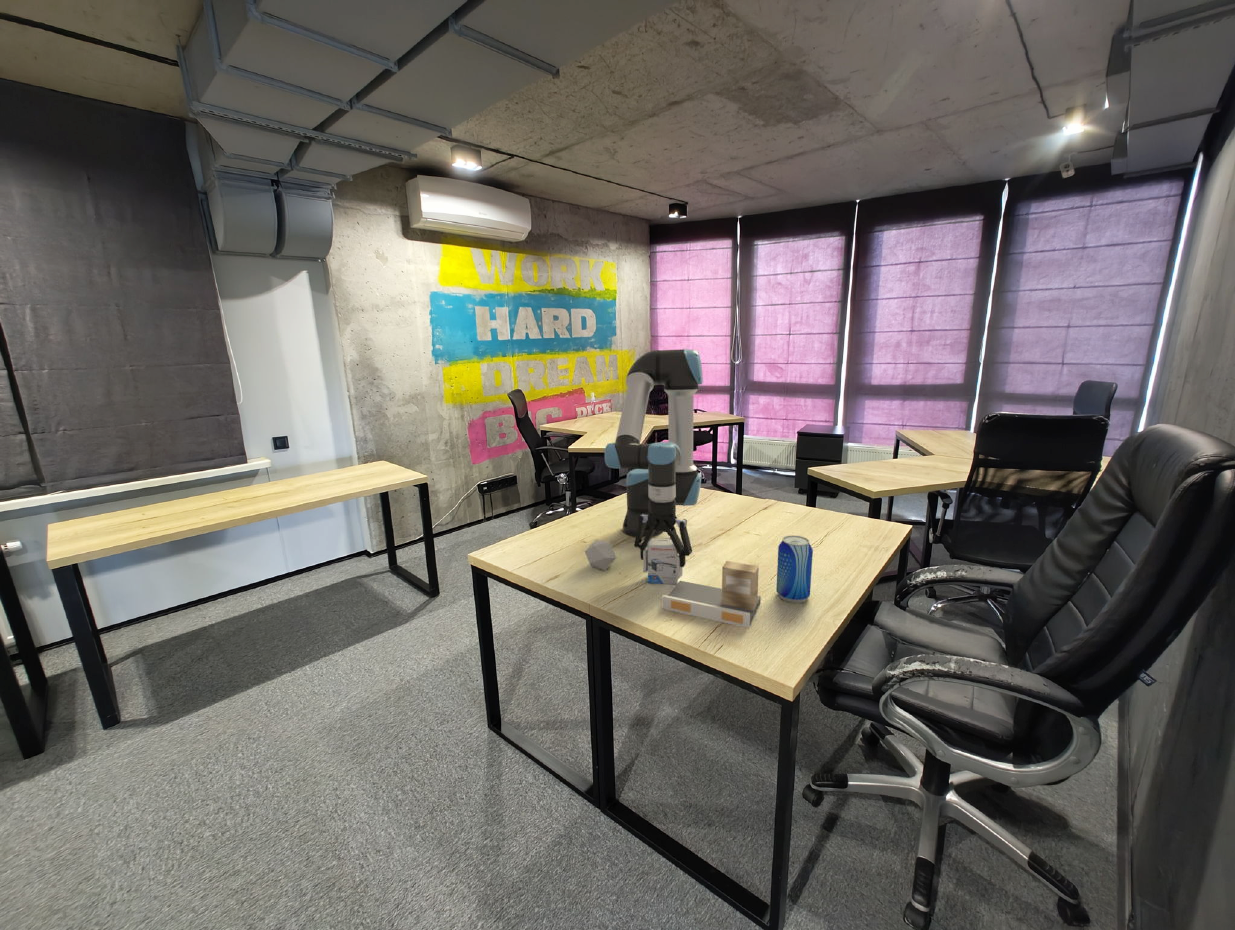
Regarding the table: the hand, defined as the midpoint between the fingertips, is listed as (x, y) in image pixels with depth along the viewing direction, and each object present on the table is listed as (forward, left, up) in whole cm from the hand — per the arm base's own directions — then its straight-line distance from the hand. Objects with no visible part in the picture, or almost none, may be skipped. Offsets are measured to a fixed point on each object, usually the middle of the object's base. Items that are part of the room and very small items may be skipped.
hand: (662, 573), depth 142 cm
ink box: (0, 0, -2) cm, 2 cm away
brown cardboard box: (+24, -8, 0) cm, 25 cm away
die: (-21, +1, -2) cm, 21 cm away
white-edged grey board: (+17, -8, -2) cm, 19 cm away
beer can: (+35, +5, -2) cm, 35 cm away
